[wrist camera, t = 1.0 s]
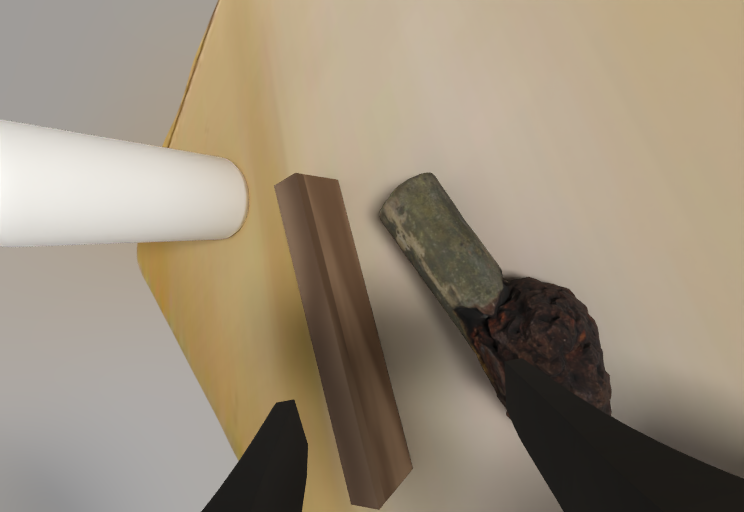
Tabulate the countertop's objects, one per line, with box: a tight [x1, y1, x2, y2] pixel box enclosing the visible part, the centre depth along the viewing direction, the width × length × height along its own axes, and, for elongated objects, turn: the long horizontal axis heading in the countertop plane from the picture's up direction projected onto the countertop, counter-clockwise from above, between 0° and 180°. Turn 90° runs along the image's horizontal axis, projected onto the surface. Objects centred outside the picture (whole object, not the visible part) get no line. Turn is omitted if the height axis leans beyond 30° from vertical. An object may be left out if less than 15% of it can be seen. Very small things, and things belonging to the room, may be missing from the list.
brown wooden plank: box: [274, 173, 413, 510], centre depth 27 cm, size 2×24×5 cm, turn 18°
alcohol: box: [0, 119, 249, 247], centre depth 26 cm, size 9×9×30 cm
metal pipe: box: [380, 173, 612, 419], centre depth 20 cm, size 18×7×6 cm, turn 39°
